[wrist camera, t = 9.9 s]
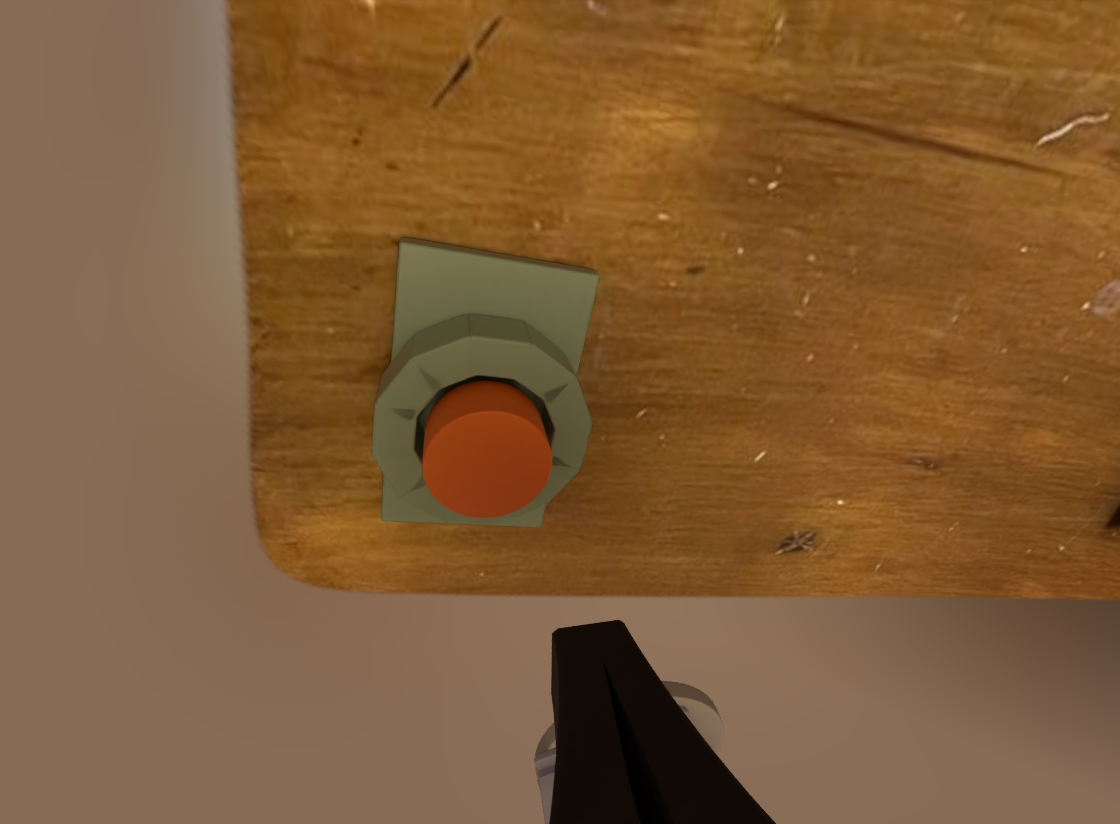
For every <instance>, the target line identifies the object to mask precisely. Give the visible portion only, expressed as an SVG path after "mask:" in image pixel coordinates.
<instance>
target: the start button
mask: <svg viewBox="0 0 1120 824" xmlns="http://www.w3.org/2000/svg"><path fill="white" fill-rule="evenodd" d="M551 468H552V453H551V448H550V445H549V442H548V439H547V435H546V432H545V429H544V426H543V423H542V419H541V416H540V413H539V411H538V409H537V407H536V406H535V404H534V403H533V401H532V400H531V399H530V398H529V397H528V396H527V395H526V394H524V393H523V392H522V391H520V390H519V389H517V388H515V387H513V386H511V385H508V384H505V383H501V382H496V381H476V382H470V383H467V384H464V385H461V386H459V387H456V388H454V389H453V390H451V391H449V392H448V393H446V394H445V395H444V396H443V397H441V398H440V399H439V400H438V402H437V403H436V404H435V405H434V407H433V408H432V410H431V411H430V413H429V415H428V418H427V421H426V426H425V435H424V448H423V462H422V471H423V477H424V481H425V484H426V486H427V488H428V490H429V491H430V493H431V494H432V495H433V497H434V498H435V499H436V500H437V501H438V502H439V503H440V504H442V505H443V506H444V507H446V508H448V509H449V510H451V511H453V512H455V513H458V514H461V515H464V516H468V517H474V518H493V517H499V516H504V515H507V514H510V513H513V512H515V511H517V510H519V509H521V508H523V507H524V506H526V505H527V504H529V503H530V502H531V501H533V500H534V499H535V498H536V497H537V496H538V495H539V493H540V492H541V491H542V490H543V488H544V487H545V485H546V483H547V481H548V479H549V476H550V473H551Z"/></svg>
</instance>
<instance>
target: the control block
mask: <svg viewBox="0 0 1120 824" xmlns="http://www.w3.org/2000/svg"><path fill="white" fill-rule="evenodd" d="M599 279H600V275H599V274H598V273H597V272H596V271H595V270H593V269H588V268H582V267H577V266H571V265H565V264H559V263H553V262H547V261H541V260H535V259H530V258H524V257H518V256H512V255H506V254H500V253H494V252H488V251H483V250H477V249H471V248H465V247H459V246H453V245H447V244H441V243H436V242H430V241H424V240H418V239H412V238H406V237H403V238H401V240H400V243H399V251H398V266H397V281H396V296H395V311H394V326H393V341H392V356H391V364H390V365H389V366H388V368H387V369H386V370H385V372H384V373H383V376H382V377H381V380H380V384H379V388H378V392H377V396H376V400H375V404H374V418H373V437H372V455H373V458H374V459H375V461H376V462H377V464H378V466H379V467H380V469H381V470H382V472H383V473H384V476H383V491H382V506H381V520H382V521H394V522H419V523H445V524H471V525H496V526H522V527H540V526H541V524H542V520H543V516H544V511H545V507H546V504H548V503H549V502H550V501H551V500H552V499H553V498H554V497H555V495H556V494H557V493H558V492H559V491H560V490H561V489H562V488H563V487H564V486H565V485H566V484H567V483H568V482H569V481H570V480H571V479H572V478H573V477H574V476H575V475H576V474H577V473H578V472H579V470H580V468H581V466H582V463H583V459H584V455H585V451H586V447H587V443H588V440H589V436H590V432H591V428H592V418H591V415H590V412H589V410H588V407H587V404H586V401H585V398H584V395H583V392H582V389H581V386H580V384H579V381H578V378H577V372H578V368H579V364H580V359H581V355H582V351H583V347H584V342H585V338H586V334H587V330H588V326H589V321H590V317H591V313H592V309H593V304H594V300H595V296H596V292H597V288H598V283H599ZM476 381H496V382H501V383H505V384H508V385H511V386H513V387H515V388H517V389H519V390H520V391H522V392H523V393H524V394H526V395H527V396H528V397H529V398H530V399H531V400H532V401H533V403H534V404H535V406H536V407H537V409H538V411H539V413H540V416H541V419H542V423H543V426H544V429H545V432H546V435H547V439H548V442H549V445H550V448H551V453H552V468H551V473H550V476H549V479H548V481H547V483H546V485H545V487H544V488H543V490H542V491H541V492H540V493H539V495H538V496H537V497H536V498H535V499H534V500H533V501H531V502H530V503H529V504H527V505H526V506H524V507H523V508H521V509H519V510H517V511H515V512H513V513H510V514H507V515H504V516H499V517H493V518H474V517H468V516H464V515H461V514H458V513H455V512H453V511H451V510H449V509H448V508H446V507H444V506H443V505H442V504H440V503H439V502H438V501H437V500H436V499H435V498H434V497H433V495H432V494H431V493H430V491H429V490H428V488H427V486H426V484H425V481H424V477H423V471H422V462H423V448H424V435H425V426H426V421H427V418H428V415H429V413H430V411H431V410H432V408H433V407H434V405H435V404H436V403H437V402H438V400H439V399H440V398H441V397H443V396H444V395H445V394H446V393H448V392H449V391H451V390H453V389H454V388H456V387H459V386H461V385H464V384H467V383H470V382H476Z"/></svg>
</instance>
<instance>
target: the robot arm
mask: <svg viewBox="0 0 1120 824" xmlns="http://www.w3.org/2000/svg"><path fill="white" fill-rule="evenodd" d="M551 683H552V684H551V686H552V687H551V694H552V702H553V710H554V722H555V736H556V748H554V749H551V750H548V751H545V752H542V753H539V754H537V755H536V756H535V758H534V761H535V766H536V768H537V770H538V775H539V783H540V790H541V797H542V804H543V812H544V819H545V824H776V823H775V822H774V821H773V820H772V819H771V818H770V817H769V815H768V814H767V813H766V812H765V811H764V810H763V809H762V808H761V807H760V805H759V804H758V803H757V802H756V801H755V800H754V799H753V798H752V796H751V795H749V793H748V792H747V791H746V790H745V788H744V787H743V786H742V785H741V784H740V783H739V782H738V780H737V779H736V778H735V777H734V775H733V774H732V773H731V772H730V771H729V769H728V768H727V767H726V766H725V765H724V763H723V762H722V761H721V760H720V758H719V757H718V756H717V755H716V754H715V752H714V751H713V750H712V749H711V747H710V746H709V745H708V743H707V742H706V741H705V740H704V738H703V737H702V736H701V735H700V733H699V732H698V731H697V729H696V728H695V727H694V725H693V724H692V723H691V719H690V714H689V712H688V709H687V708H686V707H684V706H680V707H679V705H678V704H677V703H676V701H675V700H674V699H673V697H672V696H671V694H670V693H669V692H668V690H667V689H666V687H665V686H664V685H663V683H662V682H661V680H660V679H659V677H658V676H657V674H656V673H655V671H654V670H653V669H652V667H651V666H650V664H649V663H648V661H647V659H646V658H645V657H644V655H643V654H642V652H641V650H640V649H639V647H638V646H637V644H636V642H635V641H634V639H633V637H632V636H631V634H630V632H629V631H628V629H627V627H626V626H625V624H624V623H623V622H622V621H620V620H614V621H607V622H601V623H593V624H587V625H579V626H572V627H565V628H558V629H557V630H556V631H554V632H553V633H552V680H551Z"/></svg>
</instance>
